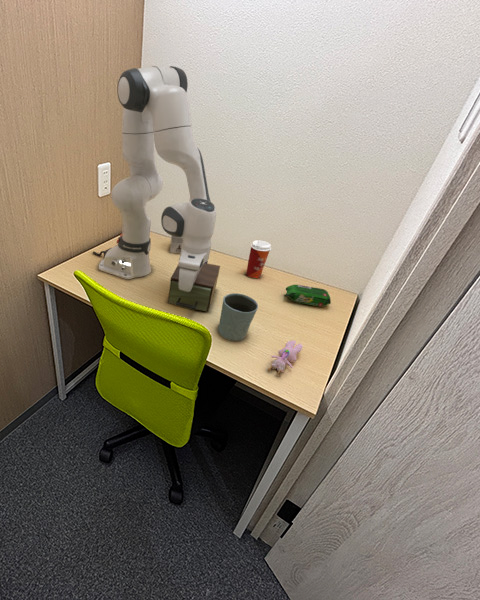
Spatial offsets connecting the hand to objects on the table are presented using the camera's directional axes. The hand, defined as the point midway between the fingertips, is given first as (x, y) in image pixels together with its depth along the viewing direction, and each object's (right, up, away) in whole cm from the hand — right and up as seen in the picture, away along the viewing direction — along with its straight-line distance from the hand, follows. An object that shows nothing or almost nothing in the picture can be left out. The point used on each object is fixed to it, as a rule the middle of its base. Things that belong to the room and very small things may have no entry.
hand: (189, 289), depth 114 cm
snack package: (+45, -4, +10) cm, 46 cm away
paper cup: (+33, +7, +26) cm, 42 cm away
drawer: (+2, -3, +9) cm, 10 cm away
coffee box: (+5, +20, +45) cm, 50 cm away
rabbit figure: (+24, -22, -16) cm, 36 cm away
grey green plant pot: (+13, -14, -5) cm, 20 cm away
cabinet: (+4, -2, +12) cm, 13 cm away
